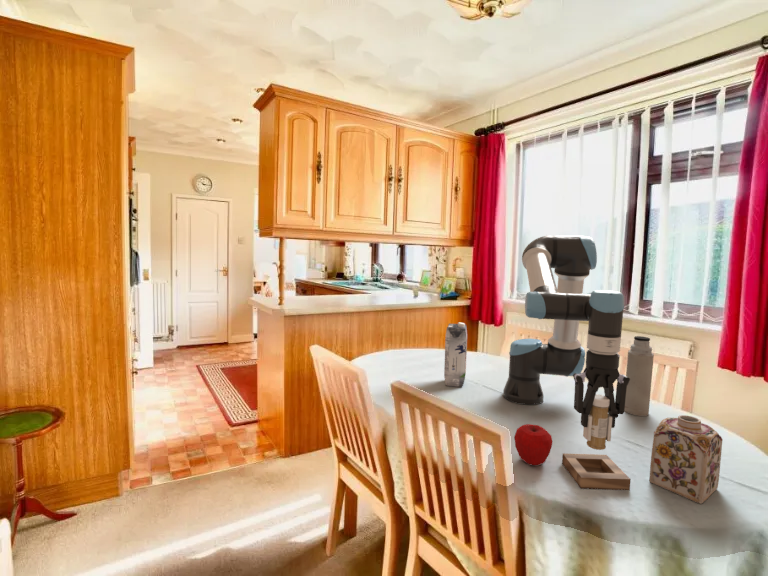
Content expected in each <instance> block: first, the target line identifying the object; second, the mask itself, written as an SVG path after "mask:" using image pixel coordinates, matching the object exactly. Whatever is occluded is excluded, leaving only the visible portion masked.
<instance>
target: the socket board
mask: <svg viewBox="0 0 768 576" xmlns="http://www.w3.org/2000/svg"><path fill="white" fill-rule="evenodd" d="M561 458H562V459H561V464H562V466H563V467H564V468H565V470H566V471H567V473H568V474H569V476H571V479H573V481H574V482H575V483H576V484H577V486H578V488H579V489H580V490H596V491H597V490H602V491H628V492H629V491H631V490H630V489H631V478H630V477H629V476H628V475H627V474H626V473H625V472H624V471H623V470H622V469H621V468H620V467H619V466H618V465H617V464H616V462H614V461H613V459H611V458H610V457H609V456H608V455H607V454H591V453H590V454H589V453H565V452H564V453H562V457H561Z"/></svg>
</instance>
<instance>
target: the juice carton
mask: <svg viewBox="0 0 768 576" xmlns="http://www.w3.org/2000/svg"><path fill="white" fill-rule="evenodd" d="M467 329H468V328H467V324H466V323H465V322H460V321H459V322H457V323H448V325H447V326H446V330H445V339H444V370H443V371H444V376H443V377H444V382H445V386H447V387H457V388H463V387H464V383H465V380H466V374H467V373H466V372H467V350H468V349H467V348H468V330H467Z"/></svg>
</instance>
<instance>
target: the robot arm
mask: <svg viewBox="0 0 768 576" xmlns="http://www.w3.org/2000/svg"><path fill="white" fill-rule="evenodd" d="M597 261H598V254H597V247H596V243H595V241H594V239H593V238H592V237H590V236H588V235H587V236H585V235H544V236H540V237H537V238H536V239H534V240H532V241H531V242H529V243H528V245H526V247H525V248H524V250H523V252H522V255H521V262H522V265H523V267H524V269H525V270H526V273H527V279H528V285H529V291H528V292H527V293H526V294H525V301H524V313H525V316H526V317H527V318H531V319H538V320H542V319H543V320H553V331H552V336H550V337H548V339H547V344H546V343H543V342H542V340H540V339H537V338H520V339H516V340H514V341H512V342H511V343H510V346H509V347H510V348H509V363H508V365H509V367H508V378H507V380H506V382H505V385H504V387H503V393H502V394H503V395H502V396H503V398H504V399H506V400H507V401H509V402H512V403H516V404H521V405H527V406H528V405H533V406H534V405H539V404H542V403H543V402H544V392H543V388H542V385H541V381H540V380H541V378H540V377H541V375H552V376H559V377H560V376H563V377H566V378H567V377H572V378H573V380H574V398H573V401H574V402H573V409H574V410H575V411H576V412H577V413H579V414H581V416H580V425H581V426H582V428H583V432H582V433H583V434H582V437H584V439H586V442H587V441H591V429H592V416H591V415H590V411H591V408H592V404H593V401H594V398H595V395H596V394H597V392H598V391H599V389H600V388H602V389H603V393H604V396H606V397H607V398H609V400H610V403H609V408H608V422H607V435H606V442H611V439H612V430H613V429H614V428H615V427H616V419H617V418H618V417H619V415H624V414H625V411H624V409H625V399H626V389H627V385H628V383H629V381H630V378H628V377H627V376H626V374H623V373H620V372H619V366H620V359H621V356H620V354H619V353H620V351H621V342H622V330H623V329H622V328H623V318H624V309H625V301H624V300H625V297H624V294H623V293H622V292H621V291H617V290H616V291H615V290H606V289H604V290H603V289H599V290H598V289H595V290H592V291H591V292H588V293H587V292H586V293H584V292H583V291H584V283H585V282H584V281H585V279H586V278H588V277H589V276H590V271H591V270H595V269H596V268H597ZM552 269H554V271H552ZM553 272H554V274H555V275H556V276H557V284H556V281H555V277H554V274H553ZM580 322H588V327H587V328H588V330H587V338H586V339H587V341H586V348H587V350H585V348H584V347H583V346H582V343H581V341H580V340H579V339H578V335H579V327H580ZM584 366H585V369H584ZM585 379H586V380H587V385H586V386H587V387H586V391H584V388H585V385H584V383H585ZM616 381H617V382H616ZM615 382H616V389H615V388H614V387H615V386H614V383H615ZM614 391H615V394H614ZM584 392H585V394H584Z"/></svg>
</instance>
